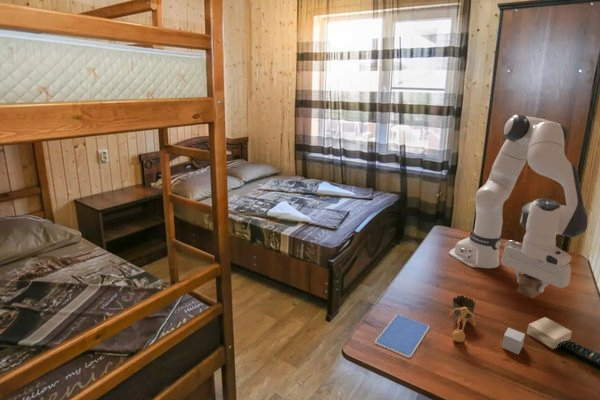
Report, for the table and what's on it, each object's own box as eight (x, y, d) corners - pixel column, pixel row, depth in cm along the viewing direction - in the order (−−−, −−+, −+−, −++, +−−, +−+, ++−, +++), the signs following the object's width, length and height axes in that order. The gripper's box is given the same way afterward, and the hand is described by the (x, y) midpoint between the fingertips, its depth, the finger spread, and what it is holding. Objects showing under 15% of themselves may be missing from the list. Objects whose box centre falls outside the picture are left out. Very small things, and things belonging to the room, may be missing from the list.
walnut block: (517, 291, 129) (520, 275, 127) (525, 287, 131) (528, 271, 129) (532, 298, 125) (535, 282, 123) (540, 293, 127) (543, 277, 125)
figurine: (443, 338, 129) (447, 308, 125) (449, 329, 133) (453, 300, 130) (469, 349, 124) (474, 317, 120) (474, 339, 129) (479, 308, 125)
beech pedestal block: (526, 334, 132) (528, 324, 130) (542, 326, 136) (545, 316, 134) (552, 350, 124) (555, 339, 123) (569, 341, 128) (572, 331, 127)
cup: (462, 328, 134) (465, 309, 132) (446, 317, 140) (448, 298, 138) (477, 322, 137) (480, 303, 135) (460, 311, 144) (463, 293, 141)
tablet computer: (410, 360, 120) (410, 357, 120) (373, 344, 127) (373, 341, 127) (430, 328, 135) (430, 325, 135) (396, 316, 142) (396, 313, 142)
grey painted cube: (501, 347, 125) (504, 334, 123) (505, 340, 128) (508, 327, 127) (518, 354, 122) (521, 341, 120) (522, 346, 125) (525, 334, 124)
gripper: (500, 240, 130) (494, 276, 134) (567, 264, 113) (557, 304, 118) (511, 236, 133) (505, 271, 137) (577, 258, 117) (567, 298, 121)
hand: (529, 287), depth 127 cm, fingers closed on walnut block, 5 cm apart
